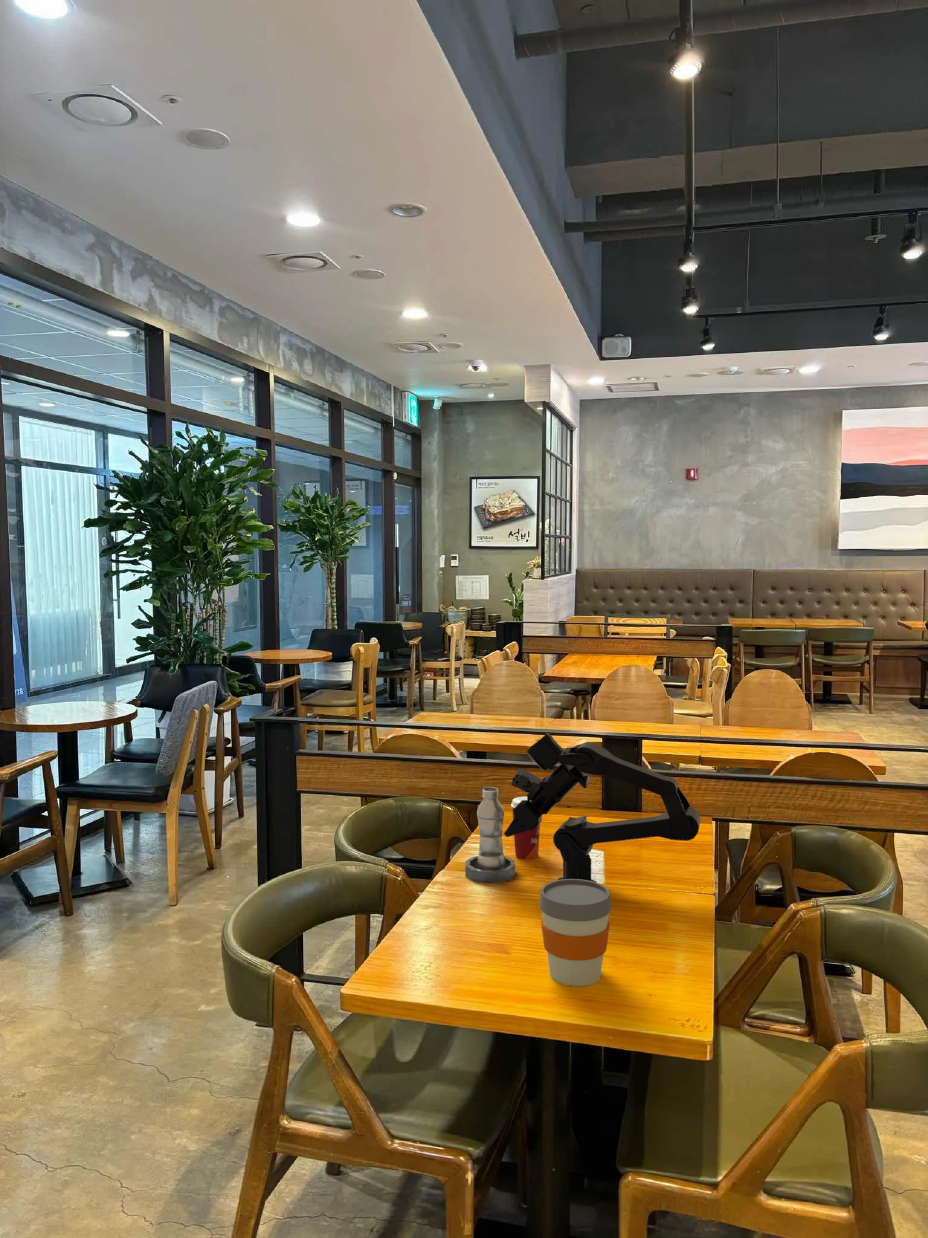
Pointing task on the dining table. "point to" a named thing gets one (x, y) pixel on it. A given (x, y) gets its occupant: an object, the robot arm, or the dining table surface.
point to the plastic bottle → (490, 831)
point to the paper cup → (526, 838)
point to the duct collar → (489, 871)
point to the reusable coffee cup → (575, 929)
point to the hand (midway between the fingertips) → (510, 829)
